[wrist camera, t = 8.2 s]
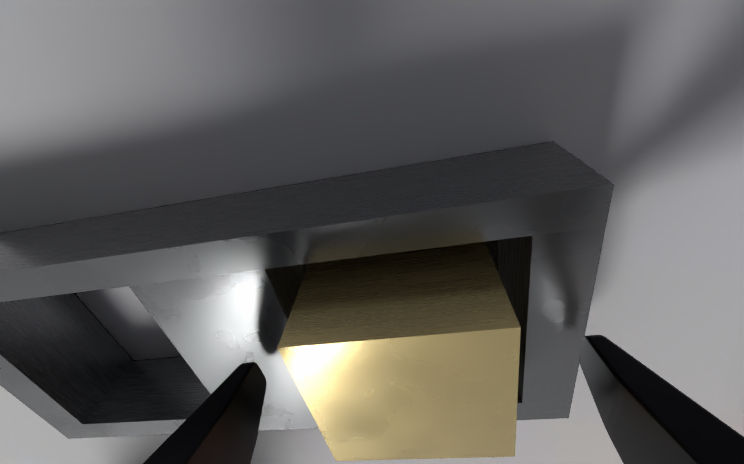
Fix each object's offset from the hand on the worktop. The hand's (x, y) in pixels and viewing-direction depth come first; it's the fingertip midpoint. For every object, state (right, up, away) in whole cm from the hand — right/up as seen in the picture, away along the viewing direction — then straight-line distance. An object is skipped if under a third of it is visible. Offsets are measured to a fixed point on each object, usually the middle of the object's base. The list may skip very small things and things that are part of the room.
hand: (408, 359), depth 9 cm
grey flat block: (-5, +1, +4) cm, 6 cm away
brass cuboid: (0, +2, +3) cm, 4 cm away
